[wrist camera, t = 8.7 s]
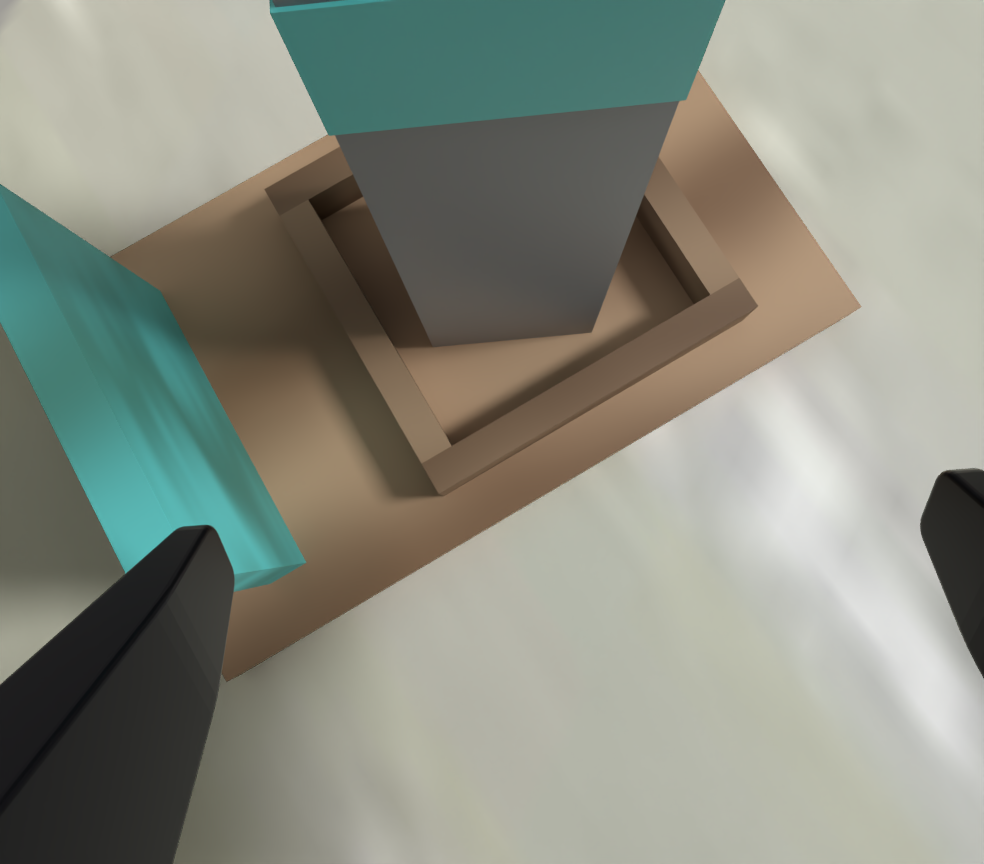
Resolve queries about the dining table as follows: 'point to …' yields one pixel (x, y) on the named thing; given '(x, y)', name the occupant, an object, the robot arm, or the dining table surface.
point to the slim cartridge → (500, 141)
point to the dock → (380, 369)
